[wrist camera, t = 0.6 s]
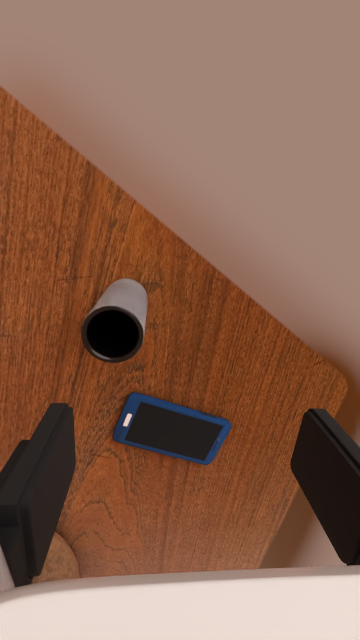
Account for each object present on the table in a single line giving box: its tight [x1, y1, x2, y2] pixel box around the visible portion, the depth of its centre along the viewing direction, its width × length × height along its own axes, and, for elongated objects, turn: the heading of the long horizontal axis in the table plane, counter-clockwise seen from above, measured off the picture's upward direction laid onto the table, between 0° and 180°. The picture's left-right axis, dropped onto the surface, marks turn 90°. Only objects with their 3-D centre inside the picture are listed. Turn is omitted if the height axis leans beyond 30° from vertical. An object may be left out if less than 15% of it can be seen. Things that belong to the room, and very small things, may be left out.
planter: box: [81, 279, 148, 363], centre depth 25 cm, size 4×4×10 cm
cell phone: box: [113, 392, 231, 465], centre depth 36 cm, size 7×14×1 cm, turn 67°
